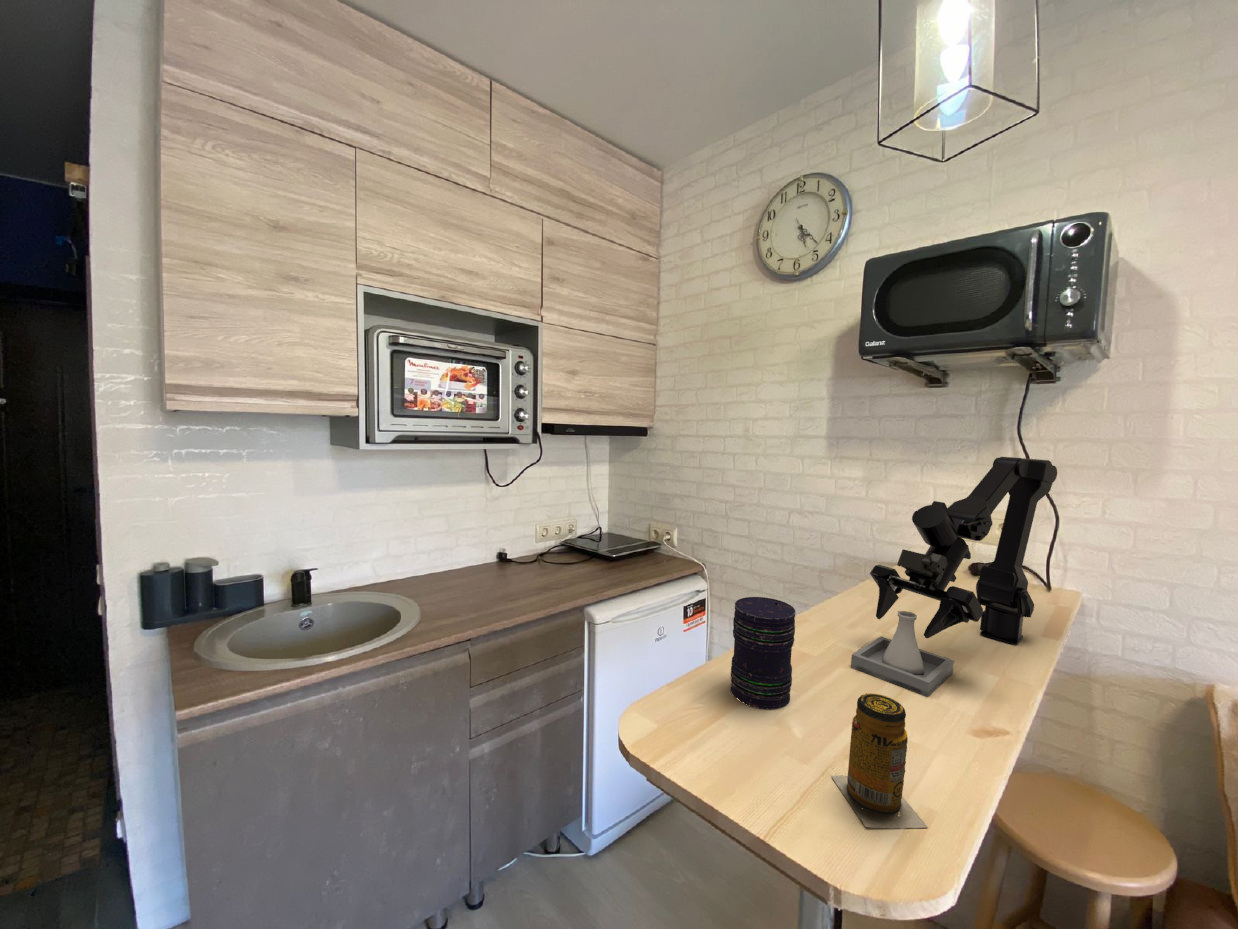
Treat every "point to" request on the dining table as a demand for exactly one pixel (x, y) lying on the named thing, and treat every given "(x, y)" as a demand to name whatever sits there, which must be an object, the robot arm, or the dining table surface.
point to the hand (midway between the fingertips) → (900, 627)
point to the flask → (904, 646)
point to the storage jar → (762, 652)
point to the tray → (923, 683)
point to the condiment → (878, 765)
